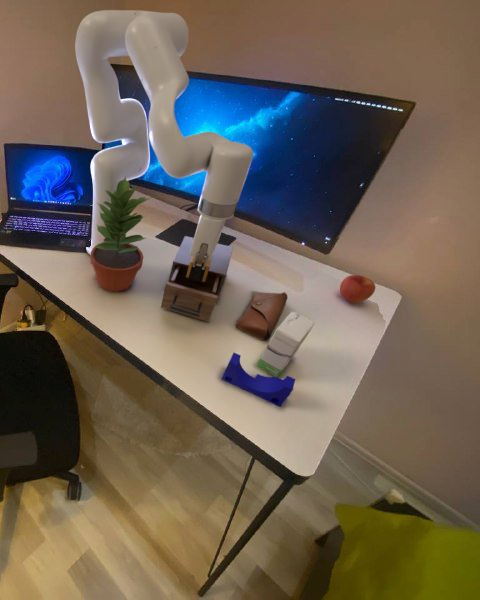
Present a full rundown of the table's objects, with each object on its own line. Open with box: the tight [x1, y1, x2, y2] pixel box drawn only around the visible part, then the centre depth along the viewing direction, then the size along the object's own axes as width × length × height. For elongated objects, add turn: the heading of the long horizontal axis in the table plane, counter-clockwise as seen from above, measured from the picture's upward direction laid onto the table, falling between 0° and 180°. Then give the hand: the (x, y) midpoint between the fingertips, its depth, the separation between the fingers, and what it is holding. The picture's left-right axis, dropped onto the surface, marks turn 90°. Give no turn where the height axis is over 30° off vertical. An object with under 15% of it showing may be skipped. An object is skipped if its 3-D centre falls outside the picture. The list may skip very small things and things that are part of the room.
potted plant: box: [90, 176, 151, 292], centre depth 91 cm, size 15×15×30 cm
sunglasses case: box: [234, 291, 288, 342], centre depth 89 cm, size 18×7×7 cm
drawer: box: [160, 265, 220, 323], centre depth 89 cm, size 18×12×8 cm
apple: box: [339, 274, 376, 304], centre depth 93 cm, size 7×7×8 cm
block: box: [186, 256, 212, 282], centre depth 85 cm, size 4×4×4 cm
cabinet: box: [167, 235, 234, 303], centre depth 98 cm, size 15×14×10 cm
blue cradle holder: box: [221, 352, 296, 408], centre depth 72 cm, size 12×4×6 cm, turn 56°
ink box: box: [256, 311, 316, 378], centre depth 75 cm, size 9×5×12 cm, turn 134°
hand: (197, 273), depth 86 cm, fingers closed on block, 4 cm apart
